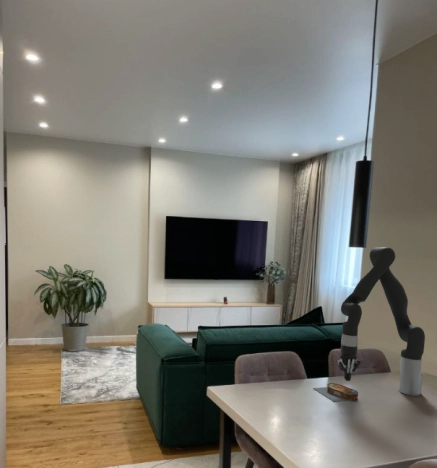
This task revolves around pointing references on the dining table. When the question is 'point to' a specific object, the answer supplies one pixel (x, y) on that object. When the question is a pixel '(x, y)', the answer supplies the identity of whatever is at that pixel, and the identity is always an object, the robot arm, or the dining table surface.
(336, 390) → the tin
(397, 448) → the dining table surface
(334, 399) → the mat
